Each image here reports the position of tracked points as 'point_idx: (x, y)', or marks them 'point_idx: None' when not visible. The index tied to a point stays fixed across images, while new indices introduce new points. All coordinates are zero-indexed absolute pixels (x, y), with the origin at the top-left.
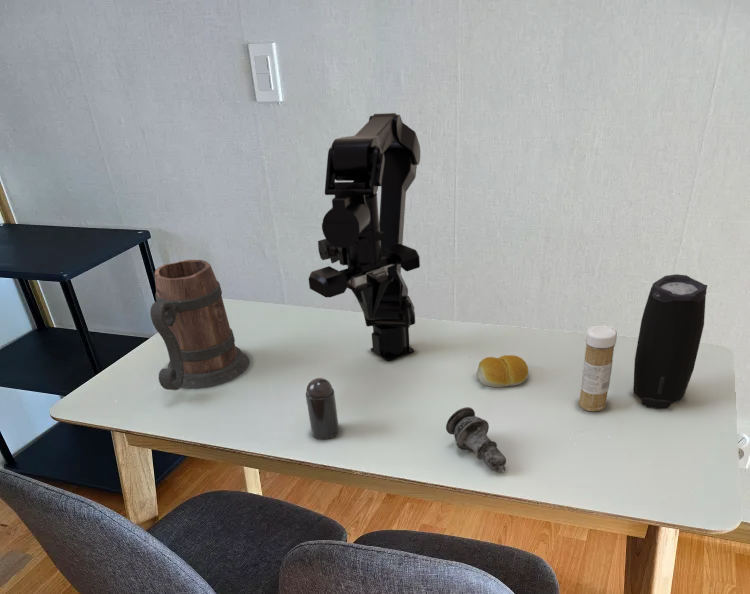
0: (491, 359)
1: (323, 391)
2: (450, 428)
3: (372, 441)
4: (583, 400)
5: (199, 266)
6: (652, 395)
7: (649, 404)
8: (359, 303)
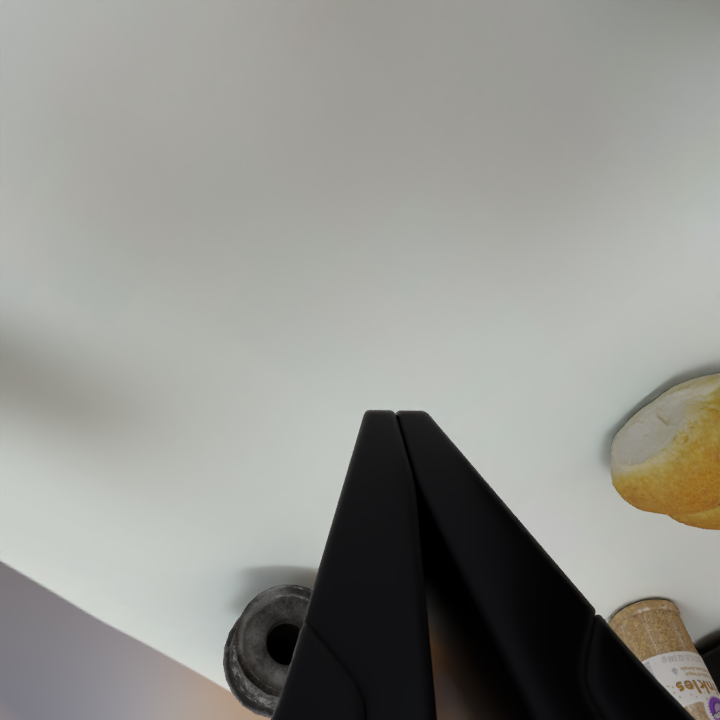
0: (717, 485)
1: None
2: (245, 634)
3: (37, 457)
4: (623, 639)
5: None
6: None
7: None
8: (313, 592)
